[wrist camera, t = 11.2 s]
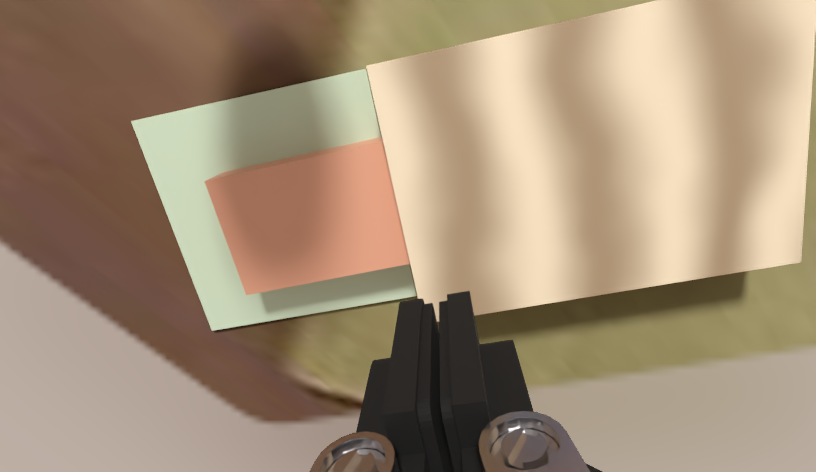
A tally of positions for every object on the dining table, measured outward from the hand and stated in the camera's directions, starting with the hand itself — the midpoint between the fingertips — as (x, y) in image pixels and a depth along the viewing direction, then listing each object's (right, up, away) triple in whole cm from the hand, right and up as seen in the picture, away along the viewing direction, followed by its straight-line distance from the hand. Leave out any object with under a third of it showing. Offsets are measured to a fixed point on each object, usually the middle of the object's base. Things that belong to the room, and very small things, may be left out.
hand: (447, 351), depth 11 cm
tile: (-6, +4, +17) cm, 19 cm away
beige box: (+8, +7, +16) cm, 20 cm away
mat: (-9, +4, +18) cm, 20 cm away
